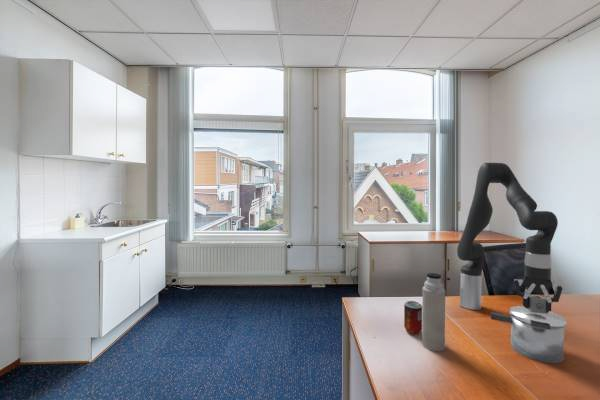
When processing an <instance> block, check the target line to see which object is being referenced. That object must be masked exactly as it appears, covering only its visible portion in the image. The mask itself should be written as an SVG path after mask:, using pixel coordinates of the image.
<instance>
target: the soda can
mask: <svg viewBox="0 0 600 400" xmlns="http://www.w3.org/2000/svg"><path fill="white" fill-rule="evenodd" d="M403 306H404V310H403V311H404V312H403V313H404V317H403V318H404V319H403V321H404V322H403V323H404V324H403V326H404V329H405V331H407V332H406V333H407V334H409V333H410V334H409V335H412V334H414V335H415V336H418V335H420V334H421V333H422V304H421V303H420V302H417V301H414V300H407V301H406V302H405V303H404V305H403Z"/></svg>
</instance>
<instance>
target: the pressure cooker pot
mask: <svg viewBox="0 0 600 400" xmlns="http://www.w3.org/2000/svg"><path fill="white" fill-rule="evenodd" d="M490 320H495V321H499V322H503V323H508V324H510V347H511V349H512V350H514V351H515V352H517V353H518V354H519V355H521V356H524V357H526V358H528V359H531V360H534V361H537V362H542V363H545V364H546V363H547V364H558V363H559V364H560V363H562V362H564V361H563V360H564V348H565V347H564V345H565V343H564V342H565V341H564V340H565V339H564V338H565V327H563V328H550V330H549V329H544V328H540V327H535V326H531V324H529V323H526V322H523V321H520V320H518V319H516V318H514V317H513V316H511V315H510V314H509V315H508V314H502V313H499V312H493V311H491V312H490Z"/></svg>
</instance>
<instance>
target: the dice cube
mask: <svg viewBox="0 0 600 400" xmlns="http://www.w3.org/2000/svg"><path fill="white" fill-rule="evenodd" d="M546 302H547V299H546V297H545V296H543V295H542V294H541V295H540V294H531V293H530V294H529V296H528V310H529V311H531V312H535V313H545V314H548V312H546Z"/></svg>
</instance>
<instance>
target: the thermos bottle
mask: <svg viewBox="0 0 600 400" xmlns="http://www.w3.org/2000/svg"><path fill="white" fill-rule="evenodd" d="M426 276H427V278H426V280H425V281H424V284H423V285H424V286H422V304H421V305H422V330H421V344H422V346H423V347H424V348H426V349H427V350H430V351H434V352H442V351H444V350H445V349H446V347H445V346H446V289H445V288H444V287H445V286H444V283H442V279H441V278H442V275H441V274H440V273H439V274H438V273H434V272H429V273H427V274H426Z"/></svg>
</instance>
